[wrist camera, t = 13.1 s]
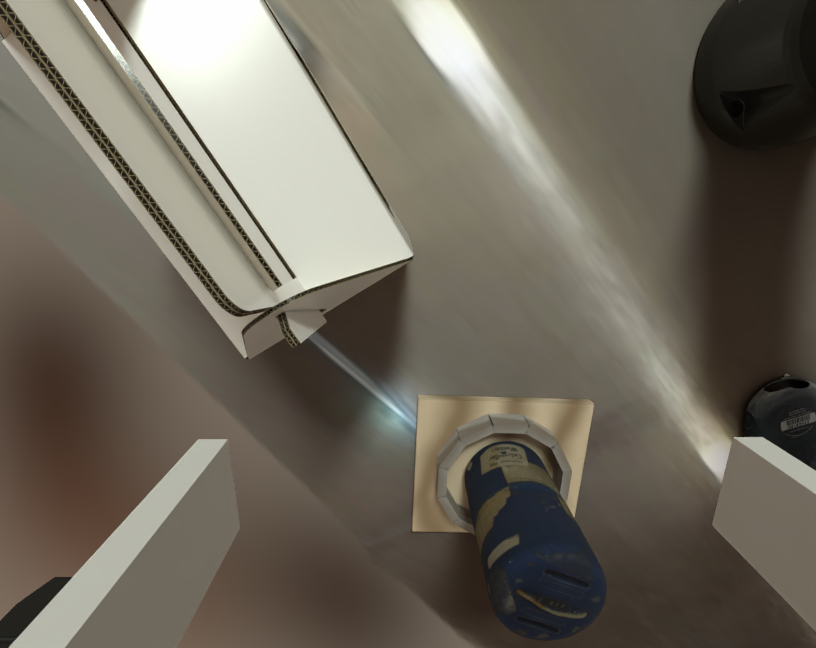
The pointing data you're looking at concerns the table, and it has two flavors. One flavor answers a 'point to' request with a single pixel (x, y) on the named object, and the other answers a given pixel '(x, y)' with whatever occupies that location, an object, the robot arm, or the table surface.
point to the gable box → (217, 152)
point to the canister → (531, 545)
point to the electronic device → (785, 419)
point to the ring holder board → (483, 425)
